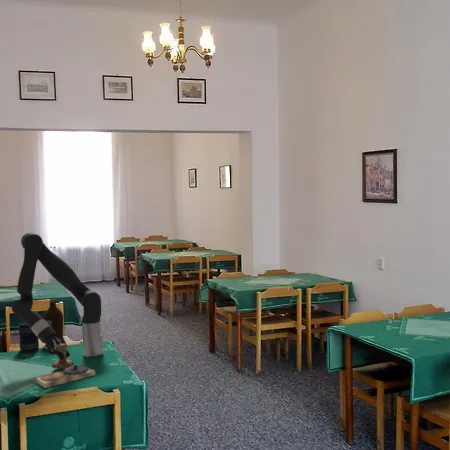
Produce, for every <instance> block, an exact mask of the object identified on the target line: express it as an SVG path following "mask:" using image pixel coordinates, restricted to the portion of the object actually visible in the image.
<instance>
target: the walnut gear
mask: <svg viewBox="0 0 450 450" xmlns="http://www.w3.org/2000/svg"><path fill="white" fill-rule="evenodd" d="M66 344H67V343H66ZM66 344H59V345H58V349H59V352H61V353H62V354H63V355H64V356H65V358H64V359H63V360H61V359H60V358H59V357H58V360H54V362H51V367H52V369H57V370H59V369H62V370H65V368H69V367H70V366H74V364H75V362H74V360H73V359H69V358H68V357H66V350H67V347H66Z"/></svg>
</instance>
